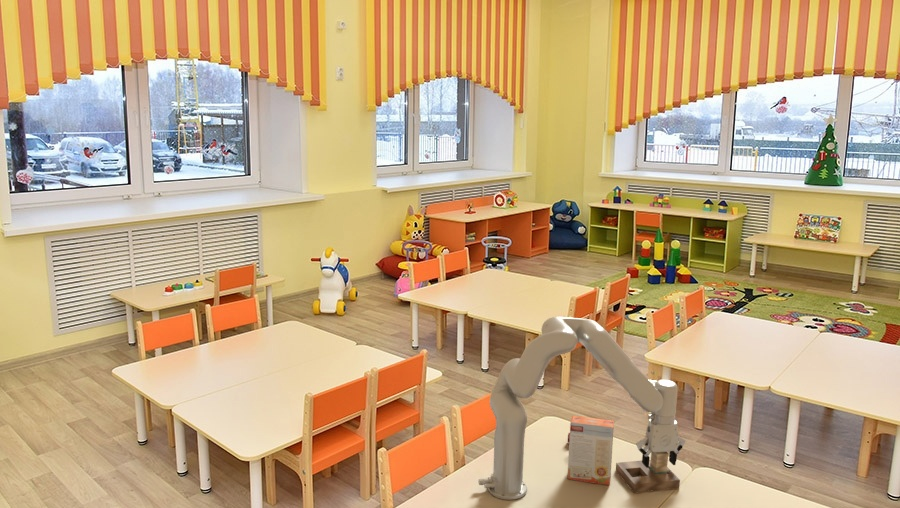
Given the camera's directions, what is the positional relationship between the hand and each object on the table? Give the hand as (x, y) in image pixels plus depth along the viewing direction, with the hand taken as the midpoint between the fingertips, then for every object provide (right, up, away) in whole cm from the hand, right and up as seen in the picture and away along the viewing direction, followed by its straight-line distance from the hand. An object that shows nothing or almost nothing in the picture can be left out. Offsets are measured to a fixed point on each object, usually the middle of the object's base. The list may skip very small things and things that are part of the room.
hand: (658, 464), depth 237 cm
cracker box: (-23, -5, 0) cm, 24 cm away
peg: (0, -5, +1) cm, 5 cm away
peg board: (-4, -5, 0) cm, 6 cm away
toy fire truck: (-23, -1, +19) cm, 30 cm away
